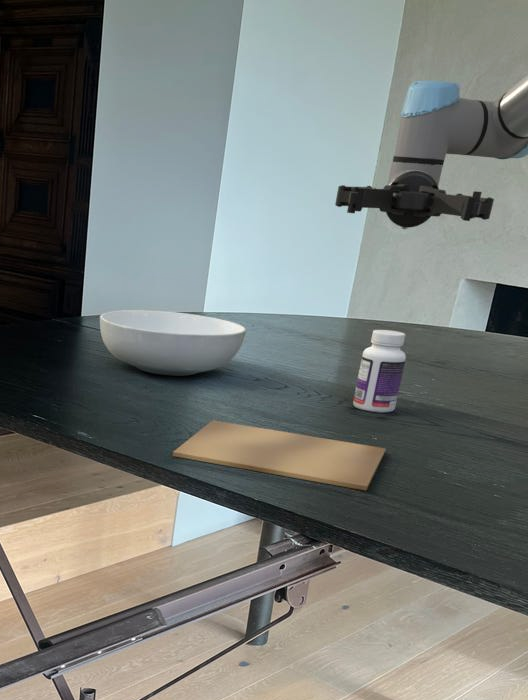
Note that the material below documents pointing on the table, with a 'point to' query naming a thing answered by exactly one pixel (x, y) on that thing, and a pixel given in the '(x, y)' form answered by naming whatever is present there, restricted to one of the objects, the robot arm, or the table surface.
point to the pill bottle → (380, 372)
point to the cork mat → (284, 454)
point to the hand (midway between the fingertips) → (413, 204)
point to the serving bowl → (170, 340)
